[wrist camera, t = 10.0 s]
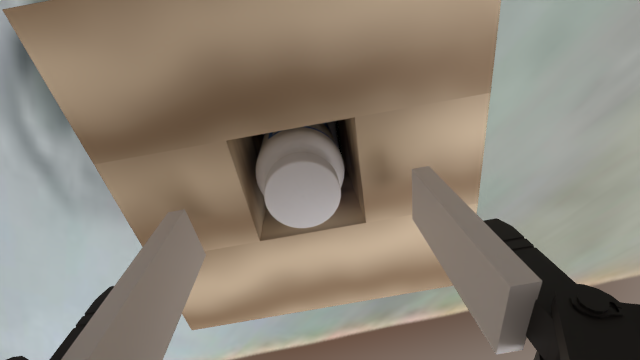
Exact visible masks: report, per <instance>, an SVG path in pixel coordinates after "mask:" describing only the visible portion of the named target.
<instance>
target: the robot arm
mask: <svg viewBox="0 0 640 360" xmlns="http://www.w3.org/2000/svg"><path fill="white" fill-rule="evenodd" d="M412 219H413V221H414V222H415V224H416V225H417V227H418V229H419V230H420V232H421V234H422V235H423V237H424V238H425V240H426V242H427V243H428V245H429V247H430V248H431V250H432V251H433V253H434V255H435V256H436V258H437V259H438V261H439V263H440V264H441V266H442V268H443V269H444V271H445V272H446V274H447V276H448V277H449V279H450V281H451V282H452V284H453V285H454V287H455V289H456V290H457V292H458V294H459V295H460V297H461V298H462V300H463V302H464V303H465V305H466V307H467V308H468V310H469V311H470V313H471V315H472V316H473V318H474V319H475V321H476V323H477V324H478V326H479V327H480V329H481V330H482V332H483V334H484V335H485V337H486V339H487V340H488V342H489V344H490V345H491V347H492V349H493V350H494V352H495V354H501V353H507V352H513V351H519V350H523V348H524V344H525V340H526V337H527V338H528V339H529V340H530V342H531V343H532V344H533V346H534V347H535V348H536V350H537V352H536V355H535V358H534V360H640V305H638V304H628V303H621V302H619V301H618V300H616V299H615V298H614V297H612V296H611V295H609V294H607V293H605V292H603V291H601V290H599V289H597V288H594V287H590V286H587V285H583V284H576V283H575V282H574V281H573V280H571V279H570V278H569V277H568V276H567V275H566V274H565V273H564V272H563V271H561V270H560V269H559V268H558V267H557V266H556V265H555V264H554V263H553V262H551V261H550V260H549V259H548V258H547V257H546V256H545V255H544V254H543V253H541V252H540V251H539V250H538V249H537V248H534V245H533V244H531V243H530V242H529V241H528V240H527V239H524V236H523V235H521V234H520V233H519V232H518V231H517V230H516V229H515V228H514V227H513V226H511V225H509V224H507V223H505V222H503V221H501V220H499V219H491V220H485V221H483V220H482V219H481V218H480V217H479V216H478V215H477V214H476V213H475V212H474V211H473V210H472V209H471V208H470V207H469V206H468V205H467V204H466V203H465V202H464V201H463V200H462V199H461V198H460V197H459V196H458V195H457V194H456V193H455V192H454V191H453V190H452V189H451V188H450V187H449V186H448V185H447V184H446V183H445V182H444V181H443V180H442V179H441V178H440V177H439V176H438V175H437V174H436V173H435V172H434V171H433V170H432V169H431V168H430V167H429V166H426V167H420V168H414V169H412ZM205 256H206V254H205V252H204V249H203V247H202V245H201V243H200V241H199V239H198V236H197V234H196V232H195V230H194V228H193V226H192V224H191V221H190V219H189V217H188V215H187V213H186V211H185V209H183V210H178V211H172V212H168V213H167V215H166V216H165V217H164V219H163V220H162V222H161V223H160V224H159V226H158V227H157V228H156V230H155V231H154V233H153V234H152V235H151V237H150V238H149V239H148V241H147V242H146V244H145V245H144V246H143V248H142V249H141V250H140V252H139V253H138V255H137V256H136V257H135V259H134V260H133V261H132V263H131V264H130V266H129V267H128V268H127V270H126V271H125V272H124V274H123V275H122V277H121V278H120V279H119V281H118V282H117V283H116V285H115V286H111V287H109V288H108V289H107V290H106V291H105V292H103V293H102V294H101V295H100V296H99V297H98V298H97V299H96V300H95V301H94V302H93V303H92V305H91V306H90V307H89V309H88V310H87V311H86V313H85V316H83V317H82V318H81V319H80V320H79V322H78V323H77V324H76V328H73V330H72V331H71V332H70V334H69V335H68V336H67V338H66V339H65V340H64V341H63V343H62V344H61V345H60V347H59V348H58V349H57V351H56V352H55V353H54V355H53V356H52V357H51V359H50V360H163V357H164V355H165V353H166V350H167V348H168V345H169V343H170V341H171V338H172V336H173V333H174V331H175V329H176V326H177V324H178V321H179V319H180V317H181V314H182V312H183V309H184V307H185V304H186V302H187V300H188V297H189V295H190V292H191V290H192V288H193V285H194V283H195V280H196V278H197V276H198V273H199V271H200V268H201V266H202V264H203V261H204V259H205ZM7 360H28V359H27V358H25V357H23V356H18V357H12V358H9V359H7Z"/></svg>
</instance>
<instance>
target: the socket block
mask: <svg viewBox="0 0 640 360" xmlns="http://www.w3.org/2000/svg"><path fill="white" fill-rule="evenodd" d="M500 5H501V0H50V1H45V2H40V3H34V4H29V5H24V6H19V7H13V8H8V9H3V12H4V13H5V15H6V17H7V18H8V20H9V22H10V23H11V25H12V27H13V29H14V30H15V32H16V34H17V35H18V37H19V39H20V40H21V42H22V44H23V45H24V47H25V49H26V51H27V52H28V54H29V56H30V57H31V59H32V61H33V62H34V64H35V66H36V67H37V69H38V71H39V73H40V74H41V76H42V78H43V79H44V81H45V83H46V84H47V86H48V88H49V89H50V91H51V93H52V94H53V96H54V98H55V100H56V101H57V103H58V105H59V106H60V108H61V110H62V111H63V113H64V115H65V116H66V118H67V120H68V122H69V123H70V125H71V127H72V128H73V130H74V132H75V133H76V135H77V137H78V138H79V140H80V142H81V144H82V145H83V147H84V149H85V150H86V152H87V154H88V155H89V157H90V159H91V160H92V162H93V164H94V165H95V167H96V169H97V171H98V172H99V174H100V176H101V177H102V179H103V181H104V182H105V184H106V186H107V187H108V189H109V191H110V193H111V194H112V196H113V198H114V199H115V201H116V203H117V204H118V206H119V208H120V209H121V211H122V213H123V214H124V216H125V218H126V220H127V221H128V223H129V225H130V226H131V228H132V230H133V231H134V233H135V235H136V236H137V238H138V240H139V242H140V243H141V245H142V247H143V246H144V245H145V244H146V242H147V241H148V239H149V238H150V237H151V235H152V234H153V233H154V231H155V230H156V228H157V227H158V226H159V224H160V223H161V222H162V220H163V219H164V217H165V216H166V215H167V213H168V212H172V211H178V210H183V209H185V211H186V213H187V215H188V217H189V219H190V221H191V224H192V226H193V228H194V230H195V232H196V234H197V236H198V239H199V241H200V243H201V245H202V247H203V249H204V252H205V254H206V256H205V259H204V261H203V264H202V266H201V268H200V271H199V273H198V276H197V278H196V280H195V283H194V285H193V288H192V290H191V292H190V295H189V297H188V300H187V302H186V304H185V307H184V309H183V312H182V314H183V316H184V318H185V319H186V321H187V323H188V324H189V326H190V328H191V329H192V330H196V329H202V328H208V327H214V326H220V325H225V324H231V323H237V322H243V321H249V320H255V319H261V318H266V317H272V316H278V315H284V314H290V313H296V312H301V311H307V310H313V309H319V308H325V307H331V306H336V305H342V304H348V303H354V302H360V301H366V300H372V299H377V298H383V297H389V296H395V295H401V294H407V293H412V292H418V291H424V290H430V289H436V288H442V287H447V286H453V284H452V282H451V281H450V279H449V277H448V276H447V274H446V272H445V271H444V269H443V268H442V266H441V264H440V263H439V261H438V259H437V258H436V256H435V255H434V253H433V251H432V250H431V248H430V247H429V245H428V243H427V242H426V240H425V238H424V237H423V235H422V234H421V232H420V230H419V229H418V227H417V225H416V224H415V222H414V221H413V219H412V169H414V168H420V167H426V166H429V167H430V168H431V169H432V170H433V171H434V172H435V173H436V174H437V175H438V176H439V177H440V178H441V179H442V180H443V181H444V182H445V183H446V184H447V185H448V186H449V187H450V188H451V189H452V190H453V191H454V192H455V193H456V194H457V195H458V196H459V197H460V198H461V199H462V200H463V201H464V202H465V203H466V204H467V205H468V206H469V207H470V208H471V209H472V210H473V211H474V212H475V213H476V214H477V206H478V197H479V188H480V179H481V171H482V162H483V153H484V145H485V136H486V127H487V118H488V110H489V101H490V92H491V83H492V75H493V66H494V57H495V48H496V40H497V31H498V22H499V14H500ZM337 120H338V126H339V134H340V141H341V148H342V155H343V158H342V159H343V163H344V180H343V183H342V186H341V199H340V203H339V206H338V208H337V209H336V211H335V213H334V214H333V215H332V216H331V217H330V218H329V219H328V220H326V221H325V222H323V223H321V224H319V225H317V226H314V227H310V228H294V227H290V226H287V225H284V224H282V223H280V222H279V221H277V220H276V219H275V218H274V217H273V216H272V215H271V214H270V212H269V211H268V209H267V207H266V204H265V201H264V195H263V194H262V192H261V191H260V189H259V186H258V184H257V180H256V163H257V158H258V155H259V151H260V148H261V144H262V140H263V136H264V135H263V134H265V133H271V132H276V131H282V130H287V129H293V128H299V127H304V126H310V125H315V124H321V123H326V122H332V121H337Z"/></svg>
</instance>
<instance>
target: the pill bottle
mask: <svg viewBox="0 0 640 360" xmlns="http://www.w3.org/2000/svg"><path fill="white" fill-rule="evenodd" d="M256 180H257V184H258V186H259V189H260V191H261V192H262V194H263V195H264V201H265V204H266V207H267V209H268V211H269V212H270V214H271V215H272V216H273V217H274V218H275V219H276V220H277V221H279V222H280V223H282V224H284V225H287V226H290V227H294V228H310V227H314V226H317V225H319V224H321V223H323V222H325V221H326V220H328V219H329V218H330V217H331V216H332V215H333V214H334V213H335V211H336V209H337V208H338V206H339V203H340V199H341V186H342V183H343V180H344V163H343V159H342V156H341V153H340V151H339V149H338V147H337V144H336V142H335V140H334V138H333V136H332V133H331V131H330V129H329V127H328V125H327V123H321V124H315V125H310V126H304V127H299V128H293V129H287V130H282V131H276V132H271V133H265V134H264V136H263V140H262V144H261V148H260V151H259V155H258V158H257V163H256Z"/></svg>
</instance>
